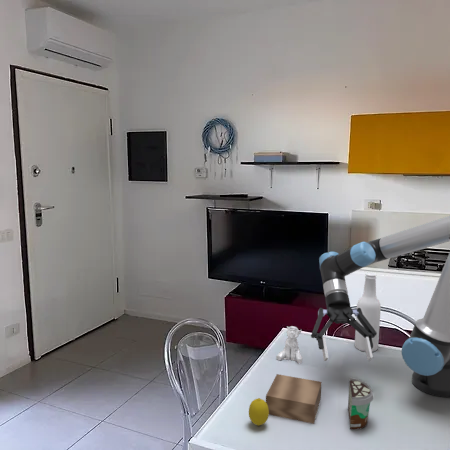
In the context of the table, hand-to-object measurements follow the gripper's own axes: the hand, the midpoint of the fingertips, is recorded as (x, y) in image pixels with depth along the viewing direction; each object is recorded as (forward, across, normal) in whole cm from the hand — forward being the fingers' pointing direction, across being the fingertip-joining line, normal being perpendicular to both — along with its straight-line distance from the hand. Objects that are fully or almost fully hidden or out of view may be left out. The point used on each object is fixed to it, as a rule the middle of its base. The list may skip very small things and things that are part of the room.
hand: (348, 359), depth 137 cm
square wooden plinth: (+12, +17, -8) cm, 22 cm away
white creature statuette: (-12, +11, -32) cm, 35 cm away
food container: (+17, -1, -2) cm, 17 cm away
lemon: (+18, +28, -1) cm, 34 cm away
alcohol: (-17, -20, -37) cm, 46 cm away
